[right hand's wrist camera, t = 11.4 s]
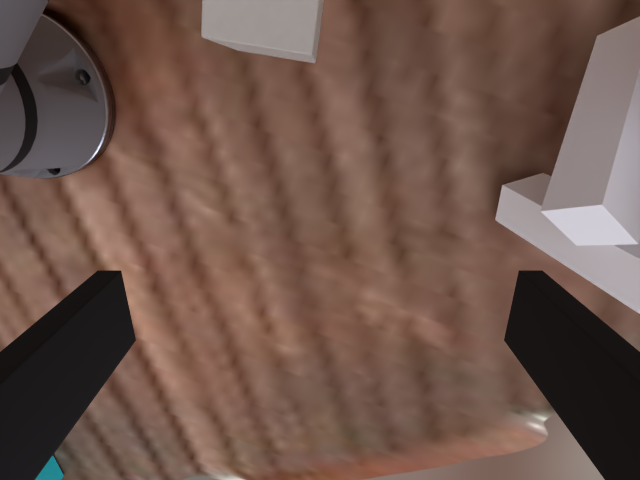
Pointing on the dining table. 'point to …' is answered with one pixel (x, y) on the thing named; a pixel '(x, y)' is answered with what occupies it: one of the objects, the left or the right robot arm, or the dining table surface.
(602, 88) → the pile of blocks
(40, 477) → the bracket
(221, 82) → the dining table surface
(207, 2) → the bar
